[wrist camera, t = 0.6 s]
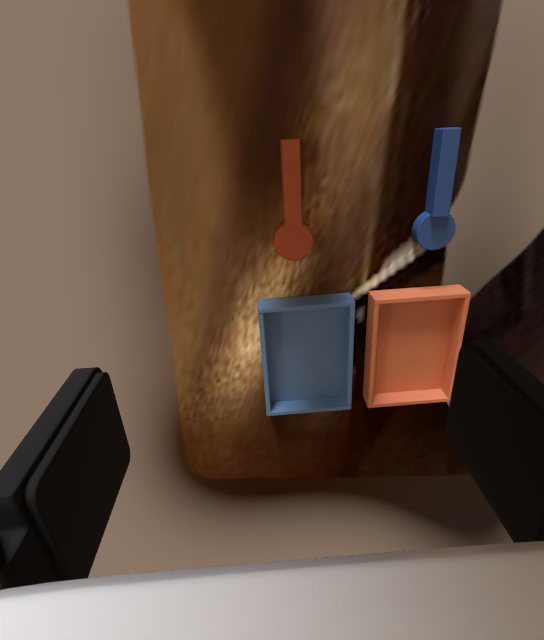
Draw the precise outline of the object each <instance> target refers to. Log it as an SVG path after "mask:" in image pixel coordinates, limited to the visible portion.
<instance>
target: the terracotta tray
mask: <svg viewBox="0 0 544 640" xmlns="http://www.w3.org/2000/svg"><path fill="white" fill-rule="evenodd" d="M470 296H471V293H470V292H469V291H468V290H466V289H465V288H464V287H463V286H461V285H460V284H458V285H444V286H431V287H417V288H404V289H391V290H377V291H368V308H367V326H366V344H365V362H364V380H363V397H364V399H365V402H366V404H367V407H368V408H374V407H386V406H398V405H411V404H423V403H436V402H448V401H450V398H451V393H452V387H453V382H454V376H455V371H456V366H457V360H458V355H459V351H460V349H461V345H462V340H463V334H464V329H465V323H466V318H467V312H468V307H469V301H470Z"/></svg>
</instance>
